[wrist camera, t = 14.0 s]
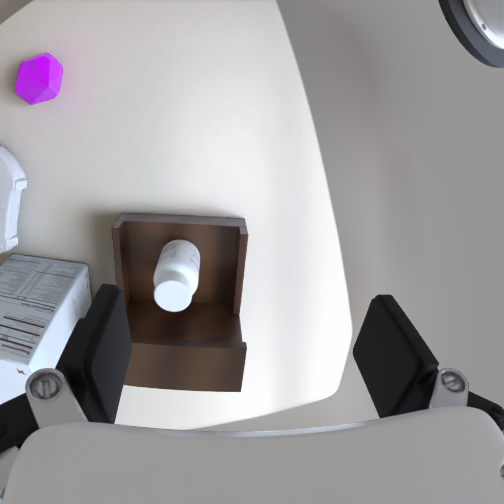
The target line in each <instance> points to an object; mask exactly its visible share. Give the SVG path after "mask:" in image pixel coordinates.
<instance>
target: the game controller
mask: <svg viewBox="0 0 504 504" xmlns="http://www.w3.org/2000/svg"><path fill="white" fill-rule="evenodd" d="M26 186H27V179H26V175H25V173H24V170H23V168H22V166H21V164H20V163H19V161H18V160H17V159H16V158H15V156H14V155H13V154H12V153H10V152H9V151H8V150H7V149H6V148H4V147H3V146H1V145H0V253H2V252H6V251H8V250H10V249H12V248H13V246H16V245H18V237H17V223H18V215H19V207H20V200H21V193H22V190H23V189H26Z"/></svg>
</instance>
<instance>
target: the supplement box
mask: <svg viewBox="0 0 504 504" xmlns="http://www.w3.org/2000/svg"><path fill="white" fill-rule="evenodd" d="M91 304H92V299H91V290H90V282H89V272H88V265H87V264H80V263H73V262H66V261H59V260H52V259H45V258H39V257H32V256H25V255H18V254H12V255H11V256H10V257H9V258H8V259H7V260H6V261H5V262H4V263H3V264H2V265H1V266H0V404H2V403H4V402H6V401H8V400H11V399H13V398H15V397H17V396H19V395H21V394H23V393H25V392H26V390H25V385H26V381H27V379H28V378H29V376H30V375H31V374H32V373H33V372H35V371H37V370H39V369H43V368H53V369H55V367H56V365H57V362H58V360H59V358H60V356H61V354H62V352H63V349H64V347H65V345H66V343H67V341H68V339H69V337H70V335H71V333H72V331H73V329H74V327H75V325H76V323H77V321H78V320H79V318H81V317H82V318H85V316H86V314H87V312H88V310H89V308H90V306H91Z"/></svg>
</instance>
